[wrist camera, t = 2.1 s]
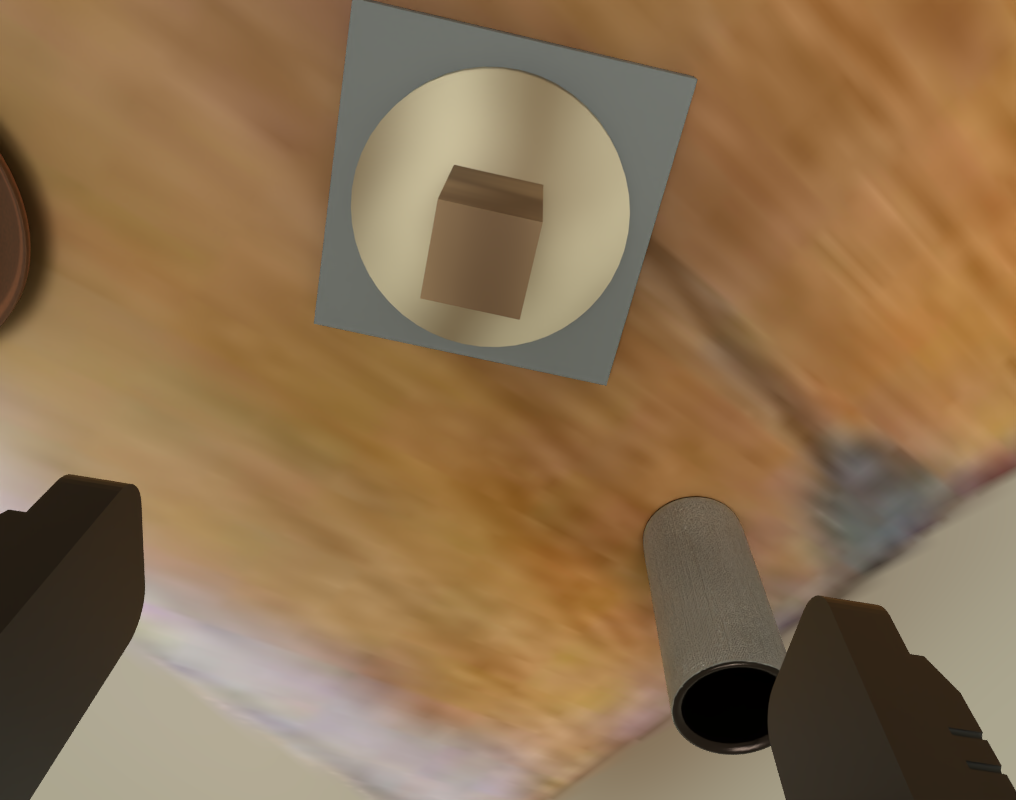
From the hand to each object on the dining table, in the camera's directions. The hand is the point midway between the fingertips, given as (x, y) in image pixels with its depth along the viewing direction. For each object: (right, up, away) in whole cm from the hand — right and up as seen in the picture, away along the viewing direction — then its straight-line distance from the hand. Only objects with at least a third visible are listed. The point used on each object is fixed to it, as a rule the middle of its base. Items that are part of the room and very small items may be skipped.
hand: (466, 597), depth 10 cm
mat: (0, +10, +22) cm, 24 cm away
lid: (0, +9, +21) cm, 23 cm away
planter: (+9, -4, +29) cm, 31 cm away
